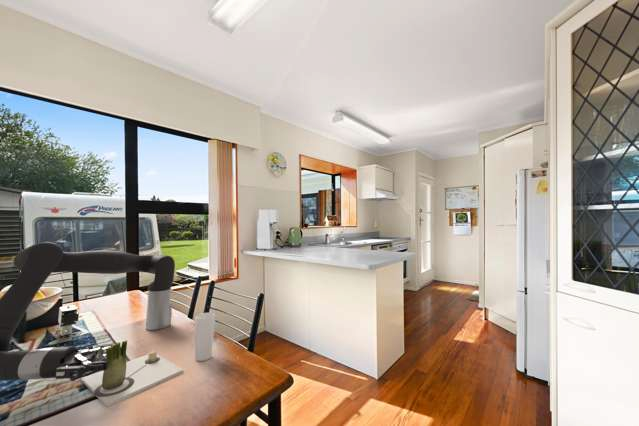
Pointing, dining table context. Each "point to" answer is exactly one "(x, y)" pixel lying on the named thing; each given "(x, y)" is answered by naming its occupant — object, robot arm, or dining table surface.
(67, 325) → the pneumatic valve
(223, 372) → the dining table surface
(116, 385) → the fennel bulb
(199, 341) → the drinking glass
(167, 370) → the gauge board
